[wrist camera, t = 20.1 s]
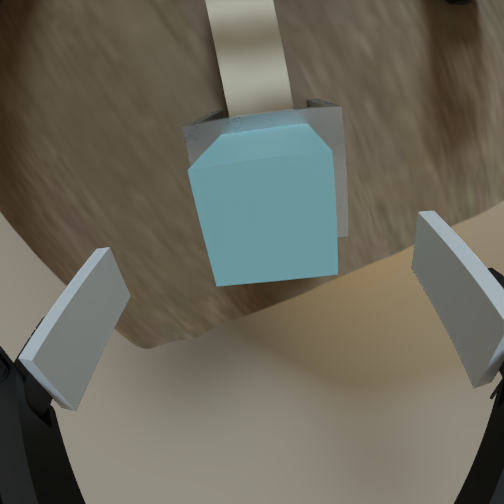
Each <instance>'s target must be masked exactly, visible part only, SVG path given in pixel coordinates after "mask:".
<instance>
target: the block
mask: <svg viewBox="0 0 504 504" xmlns="http://www.w3.org/2000/svg"><path fill="white" fill-rule="evenodd" d="M188 175H189V179H190V183H191V187H192V192H193V196H194V200H195V204H196V208H197V212H198V216H199V220H200V224H201V228H202V232H203V236H204V240H205V244H206V248H207V251H208V255H209V259H210V263H211V267H212V270H213V274H214V278H215V281H216V285H217V286H227V285H239V284H250V283H261V282H271V281H281V280H291V279H301V278H310V277H320V276H329V275H338V246H337V215H336V195H335V179H334V165H333V152H332V150H331V149H330V148H329V147H328V146H327V144H326V143H325V142H324V141H323V140H322V139H321V138H320V137H319V136H318V134H317V133H316V132H315V131H314V130H313V129H312V128H311V127H310V126H309V125H308V124H302V125H292V126H283V127H274V128H266V129H259V130H252V131H245V132H238V133H232V134H226V135H220V136H219V138H218V139H217V140H216V141H215V142H214V143H213V144H212V145H211V146H210V147H209V148H208V149H207V150H206V151H205V152H204V153H203V154H202V155H201V156H200V157H199V158H198V159H197V161H196V162H195V163H194V164H193V165H192V166H191V167H190V168H189V169H188Z"/></svg>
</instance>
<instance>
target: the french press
mask: <svg viewBox="0 0 504 504" xmlns="http://www.w3.org/2000/svg"><path fill="white" fill-rule="evenodd" d="M445 1H447V2H449V3H450V4H459V5H463V4H468V3H470V2H472V1H473V0H445Z"/></svg>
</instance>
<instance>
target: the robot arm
mask: <svg viewBox="0 0 504 504" xmlns="http://www.w3.org/2000/svg"><path fill="white" fill-rule="evenodd" d="M412 270H413V271H414V273H415V275H416V277H417V278H418V280H419V282H420V283H421V285H422V287H423V289H424V290H425V292H426V294H427V296H428V297H429V299H430V301H431V303H432V304H433V306H434V308H435V310H436V312H437V313H438V315H439V317H440V319H441V321H442V323H443V325H444V326H445V329H446V330H447V332H448V334H449V336H450V338H451V340H452V342H453V344H454V346H455V349H456V351H457V353H458V355H459V357H460V359H461V361H462V363H463V365H464V367H465V370H466V372H467V374H468V376H469V379H470V381H471V383H472V385H473V388H477V387H480V386H482V385H485V384H487V383H490V382H492V381H493V379H494V377H495V376H496V374H497V372H498V371H500V373H501V375H502V377H503V378H502V380H501V382H500V383H499V384H498V386H497V387H496V389H495V390H494V392H493V393H492V395H491V397H490V399H493V397H494V396H495V395H496V398H495V402H494V405H493V409H492V413H491V415H490V418H489V421H488V425H487V428H486V431H485V433H484V436H483V439H482V442H481V444H480V447H479V450H478V452H477V455H476V457H475V460H474V462H473V464H472V467H471V469H470V471H469V474H468V476H467V478H466V480H465V482H464V484H463V487H462V489H461V491H460V493H459V495H458V497H457V499H456V500H455V502H454V504H504V276H503V275H502V274H500V273H499V272H497V271H496V270H494V269H493V268H486V267H485V266H484V264H483V263H482V262H481V261H480V260H479V258H478V257H477V256H476V255H475V254H474V253H473V252H472V250H471V249H470V248H469V247H468V246H467V245H466V244H465V243H464V242H463V241H462V239H460V237H459V236H458V235H457V234H456V233H455V232H454V231H453V230H452V229H451V228H450V227H449V226H448V225H447V224H446V223H445V222H444V221H443V219H442V218H441V217H440V216H439V215H438V214H437V213H436V212H435V211H423V212H418V218H417V228H416V237H415V246H414V253H413V260H412ZM129 298H130V293H129V291H128V289H127V287H126V284H125V282H124V280H123V278H122V275H121V273H120V271H119V268H118V266H117V264H116V261H115V259H114V256H113V254H112V251H111V249H110V247H107V248H100V249H96V250H95V251H94V253H93V254H92V255H91V256H90V258H89V259H88V260H87V261H86V263H85V264H84V265H83V266H82V268H81V269H80V270H79V271H78V273H77V274H76V275H75V277H74V278H73V279H72V281H71V282H70V283H69V284H68V286H67V287H66V288H65V290H64V291H63V293H62V294H61V295H60V297H59V298H58V299H57V301H56V302H55V303H54V305H53V306H52V308H51V309H50V311H49V312H48V314H47V315H46V316H45V317H44V318H43V319H42V320H41V321H40V323H39V324H38V326H37V327H36V330H34V332H33V333H32V335H31V337H30V338H29V339H28V341H27V342H26V344H25V345H24V347H23V349H22V350H21V352H20V353H19V355H18V357H17V358H16V360H15V362H14V363H13V362H12V360H11V359H10V358H9V357H8V355H7V354H6V353H5V351H4V350H3V349H2V348H1V346H0V504H85V501H84V499H83V497H82V494H81V492H80V489H79V487H78V484H77V481H76V479H75V476H74V474H73V471H72V468H71V465H70V462H69V459H68V456H67V453H66V449H65V446H64V443H63V439H62V436H61V432H60V429H59V425H58V421H57V417H56V413H55V410H54V408H53V407H52V406H51V405H50V403H51V401H52V399H54V400H55V401H56V402H57V403H58V405H60V407H61V408H65V409H69V410H74V411H77V408H78V406H79V404H80V401H81V399H82V396H83V394H84V392H85V390H86V387H87V385H88V383H89V380H90V378H91V376H92V374H93V371H94V369H95V367H96V365H97V363H98V361H99V358H100V356H101V354H102V352H103V350H104V348H105V346H106V344H107V342H108V340H109V338H110V336H111V333H112V331H113V329H114V327H115V325H116V323H117V321H118V319H119V317H120V316H121V314H122V312H123V310H124V308H125V306H126V304H127V302H128V300H129ZM496 393H497V394H496Z"/></svg>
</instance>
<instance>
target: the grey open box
mask: <svg viewBox="0 0 504 504" xmlns="http://www.w3.org/2000/svg"><path fill="white" fill-rule="evenodd" d="M307 100H308V107H307V108H296V109H286V110H277V111H269V112H261V113H253V114H246V115H240V116H233V117H227V118H223V112H222V110H221V111H216V112H212V113H210V114H208V115H206V116H204V117H202V118H200V119H198V120H196V121H194V122H192V123H190V124H188V125H186V126H184V127H182V128H183V133H184V137H185V142H186V147H187V151H188V156H189V161H190V165H191V166H192V165H193V164H194V163H195V162H196V161H197V159H198V158H199V157H200V156H201V155H202V154H203V153H204V152H205V151H206V150H207V149H208V148H209V147H210V146H211V145H212V144H213V143H214V142H215V141H216V140H217V139H218V138H219V136H220V135H226V134H232V133H238V132H245V131H252V130H259V129H266V128H274V127H283V126H292V125H302V124H308V125H309V126H310V127H311V128H312V129H313V130H314V131H315V132H316V133H317V134H318V136H319V137H320V138H321V139H322V140H323V141H324V142H325V143H326V144H327V146H328V147H329V148H330V149H331V150H332V152H333V165H334V179H335V195H336V215H337V237H346V236H348V194H347V171H346V154H345V140H344V128H343V117H342V107H341V106H339V105H336V104H333V103H329V102H326V101H323V100H320V99H307Z"/></svg>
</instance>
